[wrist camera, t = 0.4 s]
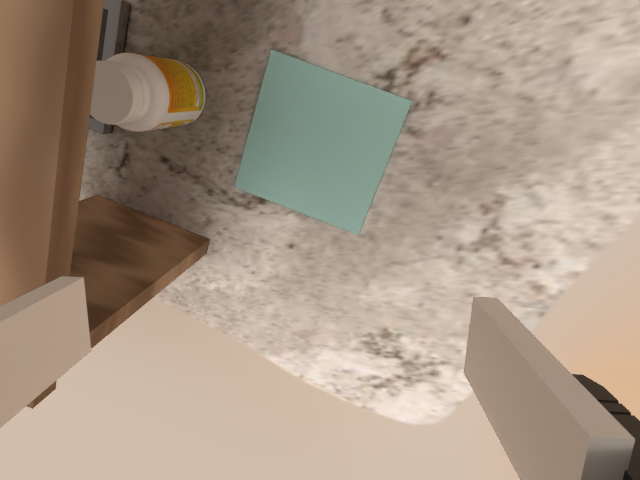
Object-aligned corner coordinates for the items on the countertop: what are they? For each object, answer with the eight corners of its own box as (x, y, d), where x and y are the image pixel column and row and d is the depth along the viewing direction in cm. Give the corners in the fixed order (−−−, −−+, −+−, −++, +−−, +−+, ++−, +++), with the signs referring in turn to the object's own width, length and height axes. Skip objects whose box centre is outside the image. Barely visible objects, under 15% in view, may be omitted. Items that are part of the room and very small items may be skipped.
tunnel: (294, -59, 31) (107, -336, 11) (211, 254, 41) (32, 408, 21) (134, -115, 32) (-316, -476, 12) (90, 207, 41) (-196, 311, 21)
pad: (412, 101, 33) (412, 101, 33) (358, 234, 38) (358, 235, 37) (272, 49, 34) (271, 49, 33) (235, 186, 38) (234, 187, 38)
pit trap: (130, 3, 35) (121, 0, 33) (111, 132, 38) (102, 133, 37) (10, -41, 35) (-2, -45, 34) (4, 91, 39) (-8, 91, 38)
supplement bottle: (170, 45, 35) (91, 28, 26) (219, 90, 36) (158, 88, 27) (138, 96, 37) (54, 97, 28) (185, 138, 37) (117, 152, 28)
